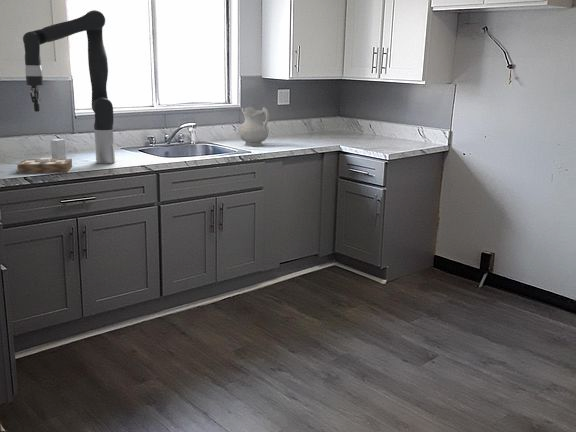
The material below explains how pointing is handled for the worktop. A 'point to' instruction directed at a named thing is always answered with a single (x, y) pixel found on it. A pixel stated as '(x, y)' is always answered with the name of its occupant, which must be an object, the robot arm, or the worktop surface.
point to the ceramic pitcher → (254, 126)
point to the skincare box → (58, 149)
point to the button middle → (45, 160)
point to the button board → (44, 166)
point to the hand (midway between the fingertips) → (37, 111)
